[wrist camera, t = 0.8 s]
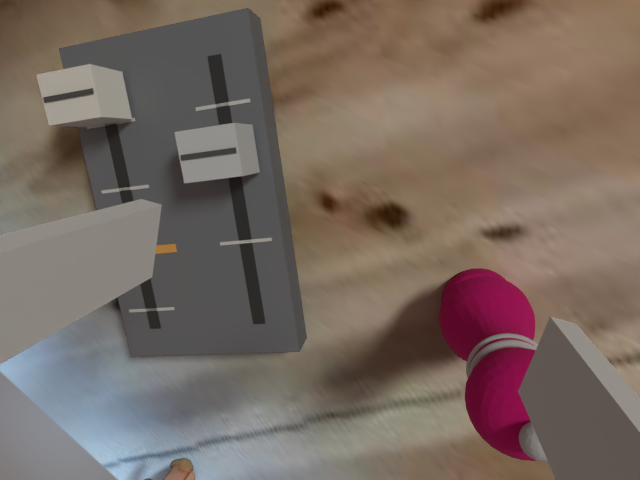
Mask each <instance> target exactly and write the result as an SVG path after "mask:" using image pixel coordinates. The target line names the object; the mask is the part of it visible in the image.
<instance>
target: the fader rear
mask: <svg viewBox="0 0 640 480" xmlns="http://www.w3.org/2000/svg"><path fill="white" fill-rule="evenodd" d="M37 79H38V83H39V87H40V91H41V95H42V99H43V103H44V107H45V111H46V115H47V119H48V123H49V126H69V127H88V126H94V125H100V124H106V123H112V122H118V121H124V120H130V119H132V116H131V111H130V106H129V101H128V97H127V92H126V87H125V82H124V78H123V73H122V72H121V71H117V70H113V69H109V68H105V67H100V66H96V65H92V64H87V65H82V66H77V67H72V68H67V69H62V70H57V71H52V72H47V73H42V74H37Z"/></svg>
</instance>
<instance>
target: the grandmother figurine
mask: <svg viewBox="0 0 640 480" xmlns="http://www.w3.org/2000/svg"><path fill="white" fill-rule="evenodd" d="M145 480H151V479H149V478H148V479H145ZM163 480H195V474H194V472H193V465H192V463H191V461H190V460H188V459H186V458H183V459H178V460H174V461H172V463H171V470H170V472H169V473H168V474H167V475H166V477H165V478H164V479H163Z"/></svg>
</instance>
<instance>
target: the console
mask: <svg viewBox="0 0 640 480" xmlns="http://www.w3.org/2000/svg"><path fill="white" fill-rule="evenodd" d="M59 51H60V55H61V60H62V64H63V68H64V69H67V68H72V67H77V66H82V65H87V64H92V65H96V66H100V67H105V68H109V69H113V70H117V71H121V72H122V73H123V78H124V82H125V87H126V92H127V97H128V101H129V106H130V111H131V116H132V119H130V120H124V121H118V122H112V123H106V124H100V125H94V126H88V127H78V132H79V136H80V140H81V144H82V149H83V153H84V157H85V161H86V166H87V170H88V174H89V178H90V183H91V187H92V191H93V195H94V200H95V204H96V208H97V210H100V209H104V208H108V207H112V206H116V205H120V204H124V203H128V202H132V201H135V200H139V199H144V200H147V201H151V202H154V203H158V204H161V205H162V207H161V214H160V222H159V229H158V237H157V245H156V252H155V260H154V268H153V275H152V278H150V279H148V280H147V281H145V282H143V283H141V284H140V285H138V286H136V287H134V288H133V289H131V290H129V291H127V292H126V293H124V294H122V295H120V296H119V297H118V301H119V306H120V310H121V314H122V318H123V323H124V327H125V331H126V335H127V340H128V344H129V348H130V352H131V357H144V356H178V355H211V354H244V353H277V352H300V350H301V348H302V346H303V344H304V342H305V340H306V338H307V337H306V330H305V323H304V316H303V309H302V303H301V296H300V289H299V282H298V275H297V268H296V261H295V255H294V248H293V241H292V234H291V227H290V220H289V213H288V206H287V200H286V193H285V186H284V179H283V172H282V165H281V158H280V152H279V145H278V138H277V131H276V124H275V117H274V110H273V103H272V97H271V90H270V83H269V76H268V69H267V62H266V55H265V49H264V42H263V35H262V28H261V21H260V18H259V17H258V16H257V15H256V14H254V13H253V12H252V11H251V10H250V9H248V8H246V9H241V10H237V11H232V12H227V13H223V14H218V15H213V16H208V17H204V18H199V19H194V20H190V21H185V22H180V23H176V24H171V25H166V26H162V27H157V28H152V29H148V30H143V31H138V32H134V33H129V34H124V35H120V36H115V37H110V38H106V39H101V40H96V41H92V42H87V43H82V44H78V45H73V46H68V47H64V48H59ZM230 123H241V124H251V125H253V131H254V138H255V144H256V150H257V157H258V163H259V170H260V172H259V173H255V174H250V175H246V176H240V177H232V178H224V179H216V180H208V181H200V182H192V183H184V180H183V174H182V169H181V164H180V159H179V153H178V148H177V143H176V138H175V133H174V132H178V131H184V130H191V129H197V128H204V127H210V126H217V125H223V124H230Z"/></svg>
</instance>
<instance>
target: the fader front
mask: <svg viewBox="0 0 640 480" xmlns="http://www.w3.org/2000/svg"><path fill="white" fill-rule="evenodd" d="M174 133H175V138H176V143H177V148H178V153H179V159H180V164H181V169H182V174H183V180H184V183H192V182H200V181H208V180H216V179H224V178H232V177H240V176H246V175H250V174H255V173H259V172H260V170H259V163H258V157H257V150H256V144H255V138H254V131H253V125H251V124H241V123H230V124H223V125H217V126H210V127H204V128H197V129H191V130H184V131H178V132H174Z"/></svg>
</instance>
